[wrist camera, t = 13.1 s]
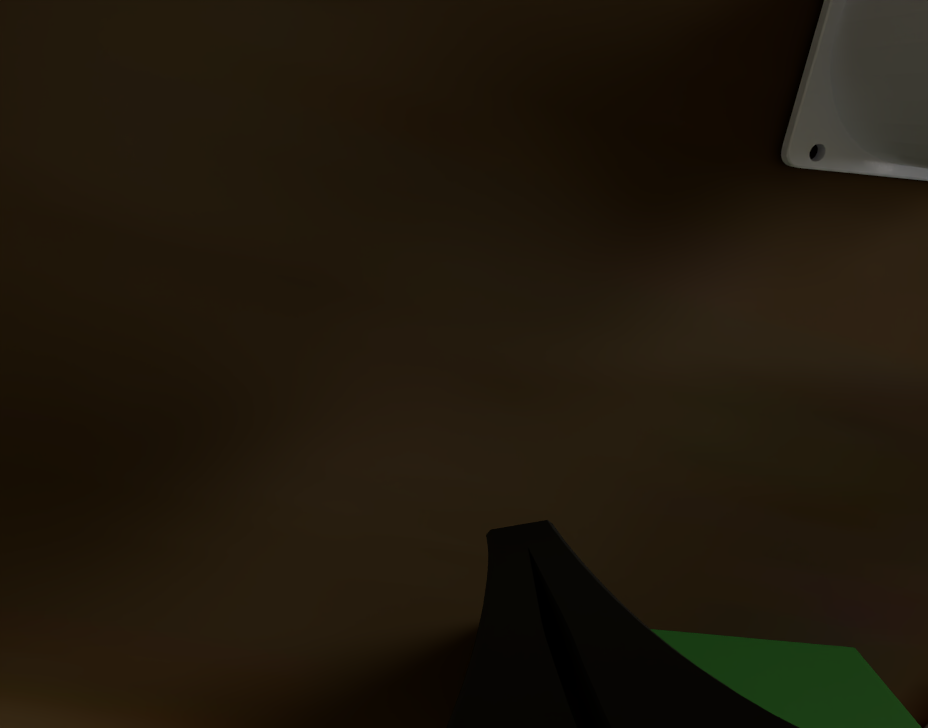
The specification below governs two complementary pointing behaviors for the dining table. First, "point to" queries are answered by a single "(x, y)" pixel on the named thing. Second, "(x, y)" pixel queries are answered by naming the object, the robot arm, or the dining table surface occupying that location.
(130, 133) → the dining table surface
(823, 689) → the hardback book
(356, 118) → the dining table surface
